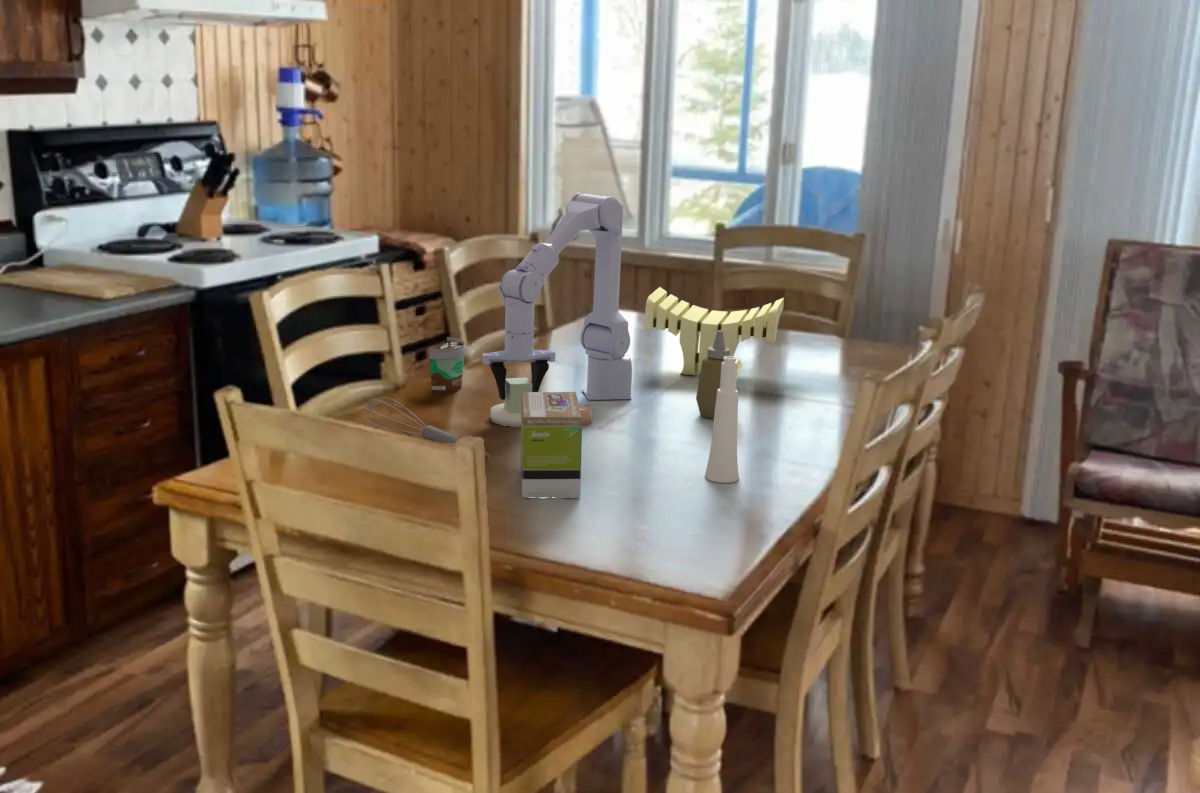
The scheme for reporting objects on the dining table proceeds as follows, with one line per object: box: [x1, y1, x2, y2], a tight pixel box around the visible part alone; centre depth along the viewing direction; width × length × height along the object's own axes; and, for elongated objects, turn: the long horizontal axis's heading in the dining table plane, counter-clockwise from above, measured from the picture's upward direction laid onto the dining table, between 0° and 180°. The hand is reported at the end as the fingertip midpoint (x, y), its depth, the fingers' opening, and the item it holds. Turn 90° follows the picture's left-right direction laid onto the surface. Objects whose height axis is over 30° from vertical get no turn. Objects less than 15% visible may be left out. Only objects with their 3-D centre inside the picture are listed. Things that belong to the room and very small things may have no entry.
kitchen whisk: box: [363, 396, 492, 462], centre depth 227 cm, size 6×34×6 cm, turn 50°
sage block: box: [503, 377, 532, 413], centre depth 242 cm, size 4×4×6 cm
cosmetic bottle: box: [704, 356, 740, 484], centre depth 211 cm, size 6×6×22 cm
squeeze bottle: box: [695, 331, 730, 420], centre depth 249 cm, size 8×8×18 cm
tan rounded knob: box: [579, 404, 593, 427], centre depth 243 cm, size 5×5×3 cm
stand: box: [490, 402, 521, 428], centre depth 243 cm, size 11×11×2 cm
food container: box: [428, 336, 468, 394], centre depth 262 cm, size 12×6×10 cm, turn 168°
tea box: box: [520, 391, 583, 499], centre depth 206 cm, size 15×10×15 cm, turn 5°
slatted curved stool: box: [643, 286, 785, 377], centre depth 284 cm, size 30×16×18 cm, turn 76°
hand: (518, 397), depth 242 cm, fingers open, 6 cm apart
